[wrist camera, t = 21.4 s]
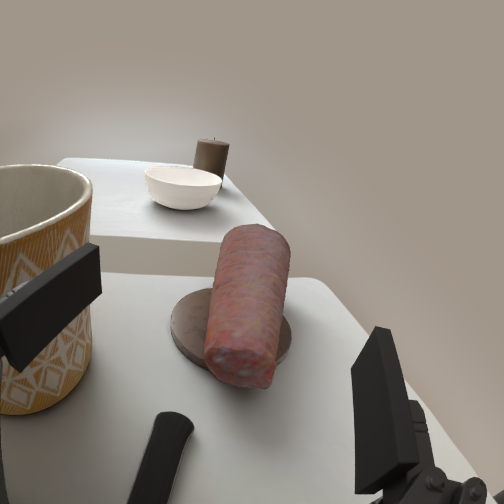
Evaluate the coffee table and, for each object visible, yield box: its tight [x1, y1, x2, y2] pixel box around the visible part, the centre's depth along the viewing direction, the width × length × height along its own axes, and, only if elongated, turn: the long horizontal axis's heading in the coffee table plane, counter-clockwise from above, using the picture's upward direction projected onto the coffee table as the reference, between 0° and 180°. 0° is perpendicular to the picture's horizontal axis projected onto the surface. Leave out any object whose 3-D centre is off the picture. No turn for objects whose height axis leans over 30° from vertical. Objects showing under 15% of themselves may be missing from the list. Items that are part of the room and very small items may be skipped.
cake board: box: [171, 288, 291, 370], centre depth 33 cm, size 14×14×1 cm
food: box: [203, 224, 291, 389], centre depth 31 cm, size 21×9×9 cm, turn 0°
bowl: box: [144, 166, 222, 210], centre depth 67 cm, size 18×18×7 cm
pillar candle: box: [193, 138, 229, 188], centre depth 85 cm, size 10×10×15 cm
